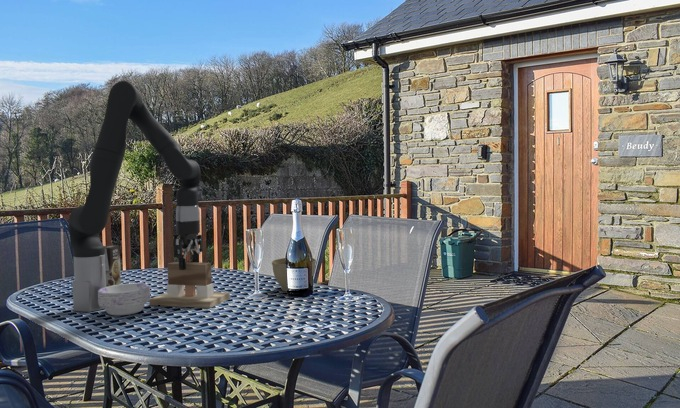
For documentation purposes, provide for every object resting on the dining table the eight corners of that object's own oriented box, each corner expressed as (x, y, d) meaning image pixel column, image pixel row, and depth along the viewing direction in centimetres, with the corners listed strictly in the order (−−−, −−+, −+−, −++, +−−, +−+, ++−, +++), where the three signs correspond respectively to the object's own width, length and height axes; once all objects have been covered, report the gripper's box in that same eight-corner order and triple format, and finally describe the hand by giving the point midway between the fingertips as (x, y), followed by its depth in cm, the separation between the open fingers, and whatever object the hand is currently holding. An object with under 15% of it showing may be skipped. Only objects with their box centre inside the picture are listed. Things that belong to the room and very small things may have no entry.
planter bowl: (293, 283, 215) (293, 255, 214) (325, 288, 205) (325, 259, 204) (263, 290, 202) (262, 261, 202) (295, 296, 192) (294, 265, 192)
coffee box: (111, 291, 207) (110, 248, 206) (94, 291, 207) (92, 248, 206) (121, 286, 216) (120, 244, 215) (105, 286, 216) (103, 245, 215)
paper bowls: (92, 312, 175) (91, 287, 174) (140, 304, 184) (139, 280, 184) (107, 321, 163) (106, 294, 163) (158, 312, 173) (157, 287, 172)
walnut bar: (205, 285, 183) (205, 264, 182) (168, 284, 186) (167, 263, 186) (211, 283, 187) (211, 262, 186) (174, 282, 190) (173, 261, 190)
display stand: (210, 308, 177) (209, 289, 177) (149, 305, 183) (148, 286, 183) (229, 298, 191) (229, 281, 190) (173, 295, 196) (172, 279, 196)
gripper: (189, 217, 193) (190, 264, 194) (165, 221, 179) (167, 271, 180) (208, 217, 191) (209, 264, 192) (186, 221, 177) (188, 271, 178)
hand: (189, 267), depth 186 cm, fingers open, 8 cm apart
